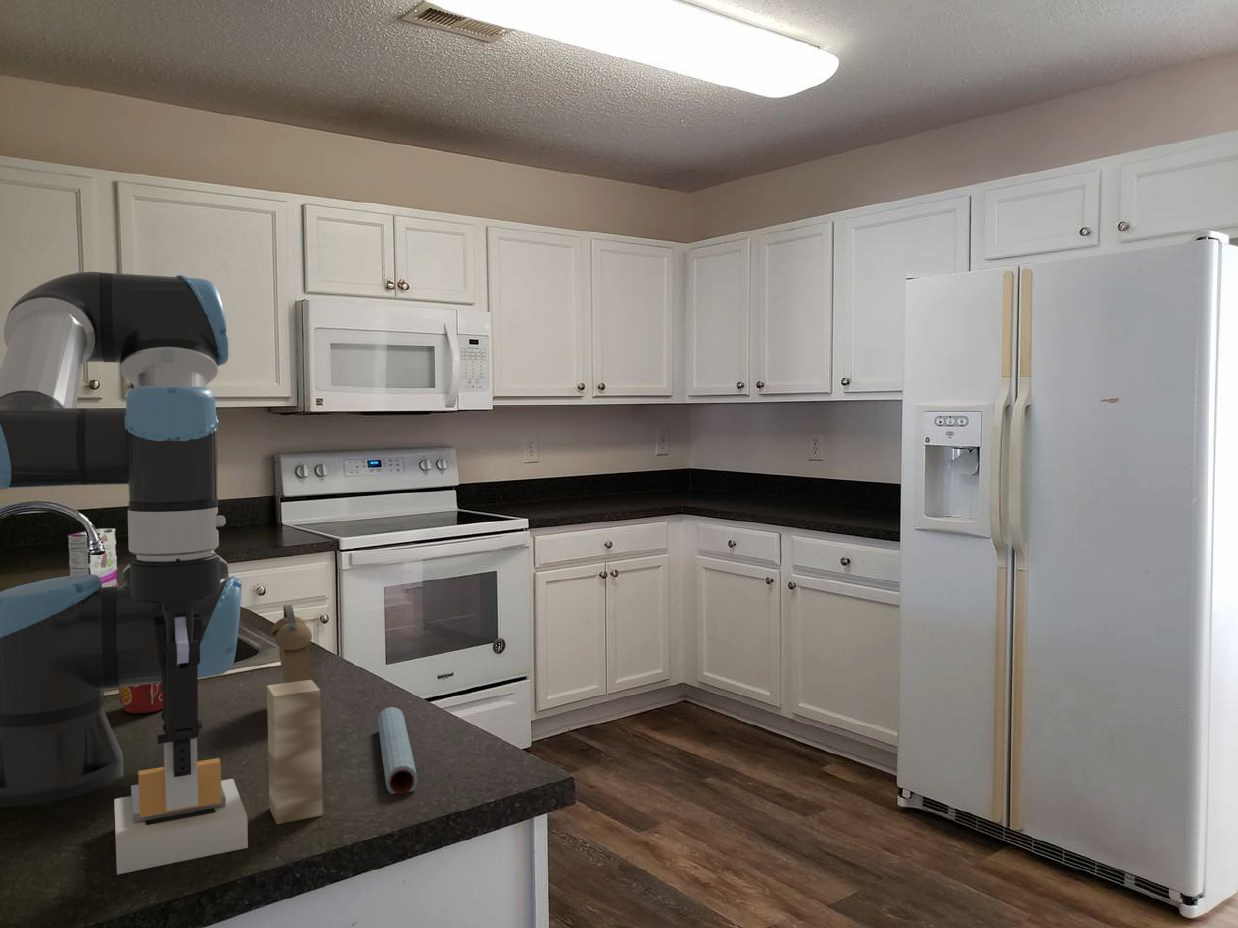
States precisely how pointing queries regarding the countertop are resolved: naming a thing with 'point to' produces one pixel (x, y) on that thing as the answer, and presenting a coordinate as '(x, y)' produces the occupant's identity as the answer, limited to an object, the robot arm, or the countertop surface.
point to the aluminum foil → (396, 752)
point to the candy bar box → (94, 557)
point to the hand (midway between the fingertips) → (182, 804)
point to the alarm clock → (293, 646)
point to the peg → (294, 751)
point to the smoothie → (141, 698)
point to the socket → (179, 833)
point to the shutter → (152, 792)
